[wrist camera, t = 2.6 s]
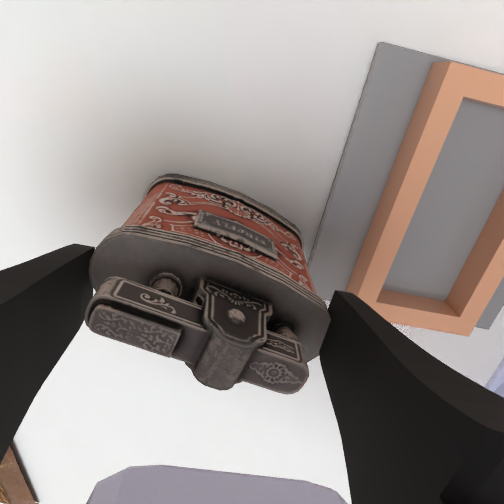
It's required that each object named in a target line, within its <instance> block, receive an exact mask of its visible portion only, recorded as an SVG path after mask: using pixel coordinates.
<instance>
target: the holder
mask: <svg viewBox="0 0 504 504" xmlns="http://www.w3.org/2000/svg"><path fill="white" fill-rule="evenodd" d="M307 267H308V270H309V273H310V276H311V279H312V282H313V285H314V288H315V291H316V294H317V295H318V296H319V297H320V298H321V299H323V300H328V301H331V299H332V297H333V294H334V291H335V290H338V291H344V292H350V293H353V294H354V295H356V296H357V297H359V298H360V299H361V300H363V301H364V302H365V303H366V304H368V305H369V306H370V307H371V308H372V309H374V310H375V311H376V312H377V313H378V314H379V315H381V316H382V317H383V318H384V319H385V320H387V321H388V322H390V323H396V324H402V325H407V326H413V327H419V328H424V329H430V330H436V331H441V332H447V333H453V334H458V335H464V336H469V335H470V334H471V332H472V330H473V328H474V327H478V328H484V329H489V328H490V326H491V325H492V323H493V321H494V320H495V318H496V316H497V315H498V313H499V311H500V310H501V308H502V306H503V305H504V74H501V73H497V72H494V71H490V70H486V69H482V68H479V67H475V66H471V65H467V64H464V63H460V62H456V61H452V60H448V59H445V58H441V57H437V56H433V55H430V54H426V53H422V52H418V51H415V50H411V49H407V48H403V47H399V46H396V45H392V44H388V43H384V42H381V43H378V46H377V49H376V52H375V55H374V59H373V62H372V65H371V68H370V71H369V74H368V77H367V80H366V84H365V87H364V90H363V93H362V96H361V99H360V102H359V105H358V109H357V112H356V115H355V118H354V121H353V124H352V127H351V131H350V134H349V137H348V140H347V143H346V146H345V149H344V152H343V156H342V159H341V162H340V165H339V168H338V171H337V174H336V177H335V181H334V184H333V187H332V190H331V193H330V196H329V199H328V202H327V206H326V209H325V212H324V215H323V218H322V221H321V224H320V228H319V231H318V234H317V237H316V240H315V243H314V246H313V249H312V253H311V256H310V259H309V262H308V265H307Z"/></svg>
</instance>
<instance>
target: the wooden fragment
mask: <svg viewBox="0 0 504 504" xmlns="http://www.w3.org/2000/svg"><path fill="white" fill-rule="evenodd" d="M0 502H1V503H4V504H39V503H35V502H34V499H33V497H32V494H31V492H30V490H29V488H28V486H27V484H26V482H25V480H24V477H23V475H22V473H21V471H20V468H19V466H18V464H17V462H16V459H15V456H14V454H13V451H12V450H11V448H10V446H9V448H8V450H7V452H6V454H5V456H4V458H3V460H2V462H1V464H0Z"/></svg>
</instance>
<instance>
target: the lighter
mask: <svg viewBox="0 0 504 504" xmlns="http://www.w3.org/2000/svg"><path fill="white" fill-rule="evenodd" d="M303 246H304V243H303V240H302V237H301V234H300V232H299V230H298V229H297V227H296V226H295V225H294V224H292V223H291V222H289V221H288V220H286V219H285V218H283V217H282V216H280V215H279V214H278V213H276V212H275V211H273V210H272V209H270V208H269V207H267V206H265V205H263V204H261V203H259V202H257V201H255V200H253V199H251V198H249V197H247V196H246V195H244V194H242V193H240V192H237V191H234V190H231V189H228V188H225V187H223V186H220V185H217V184H214V183H211V182H209V181H205V180H200V179H196V178H192V177H187V176H183V175H179V174H165V175H163V176H160V177H158V178H157V179H156V180H155V181H154V182H153V183H152V184H151V185H150V186H149V188H148V190H147V191H146V193H145V195H144V200H143V201H142V203H141V204H140V205H139V206H138V207H137V209H136V210H135V211H134V212H133V214H132V215H131V216H130V217H129V218H128V220H127V221H126V222H125V223H124V225H123V226H122V227H120V228H117V229H115V230H113V231H112V232H111V233H110V234H109V235H108V236H106V237H105V238H104V240H103V241H102V242H101V243H100V244H99V245H98V246H97V248H96V249H95V251H94V253H93V255H92V257H91V259H90V266H89V276H90V279H91V283H92V286H93V288H94V289H95V291H96V293H95V295H94V296H93V298H92V299H91V301H90V302H89V304H88V306H87V309H86V312H85V319H84V320H85V323H86V325H87V326H88V327H89V328H90V330H91V331H92V332H94V333H97V334H99V335H102V336H105V337H108V338H111V339H114V340H117V341H120V342H123V343H126V344H129V345H132V346H135V347H138V348H141V349H144V350H147V351H150V352H153V353H156V354H160V355H163V356H166V357H169V358H170V357H172V358H175V359H178V360H181V361H184V362H185V364H186V365H187V366H188V367H189V368H190V369H191V370H192V373H193V375H194V376H195V378H196V379H197V380H198V381H199V382H201V383H202V384H203V385H205V386H208V387H211V388H214V389H217V390H228V389H230V388H232V387H233V386H234V384H236V383H240V382H242V381H245V382H248V383H251V384H254V385H257V386H260V387H263V388H266V389H269V390H272V391H275V392H278V393H283V394H293V393H295V392H298V391H299V390H300V389H301V388H302V387H303V385H304V384H305V382H306V381H307V379H308V377H309V370H308V365H307V362H309V361H311V360H312V359H314V358H315V357H317V356H319V350H320V348H321V345H322V342H323V340H324V337H325V334H326V332H327V329H328V326H329V324H330V321H331V318H330V315H329V312H328V310H327V307H326V304H325V302H324V301H323V300H322V299H321V298H320V297H319V296H318V295H317V294H316V291H315V288H314V285H313V282H312V279H311V276H310V273H309V270H308V267H307V264H306V261H305V258H304V255H303Z"/></svg>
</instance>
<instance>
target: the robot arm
mask: <svg viewBox="0 0 504 504" xmlns="http://www.w3.org/2000/svg"><path fill="white" fill-rule="evenodd" d="M94 251H95V247H91V246H85V245H80V244H72V245H68V246H65V247H63V248H60V249H57V250H55V251H52V252H50V253H47V254H45V255H42V256H39V257H37V258H34V259H32V260H29V261H27V262H24V263H21V264H19V265H16V266H13V267H10V268H7V269H4V270H1V271H0V464H1V462H2V460H3V458H4V456H5V454H6V452H7V450H8V448H9V446H10V444H11V442H12V440H13V438H14V436H15V434H16V432H17V430H18V428H19V426H20V424H21V422H22V420H23V418H24V416H25V415H26V413H27V411H28V409H29V407H30V405H31V403H32V401H33V399H34V397H35V396H36V394H37V393H38V391H39V389H40V388H41V386H42V384H43V383H44V381H45V380H46V378H47V377H48V375H49V374H50V372H51V371H52V369H53V368H54V366H55V365H56V363H57V362H58V360H59V359H60V357H61V356H62V354H63V353H64V352H65V350H66V349H67V347H68V346H69V344H70V342H71V341H72V339H73V338H74V336H75V335H76V333H77V332H78V330H79V329H80V327H81V325H82V323H83V321H84V319H85V312H86V309H87V306H88V304H89V302H90V301H91V299H92V298H93V286H92V283H91V279H90V276H89V266H90V259H91V257H92V255H93V253H94ZM328 312H329V315H330V318H331V321H330V324H329V326H328V329H327V332H326V334H325V337H324V340H323V342H322V345H321V348H320V350H319V355H320V362H321V366H322V370H323V374H324V377H325V381H326V384H327V388H328V391H329V395H330V398H331V401H332V405H333V408H334V412H335V415H336V419H337V422H338V426H339V430H340V434H341V439H342V444H343V450H344V456H345V462H346V467H347V474H348V481H349V487H350V494H351V501H352V504H504V359H503V360H502V362H501V363H500V365H499V366H498V368H497V369H496V371H495V372H494V374H493V375H492V377H491V378H490V380H489V382H488V383H487V385H486V386H485V388H484V387H483V386H481V385H479V384H477V383H476V382H474V381H472V380H470V379H468V378H467V377H465V376H463V375H462V374H460V373H458V372H457V371H455V370H453V369H452V368H450V367H449V366H447V365H445V364H444V363H442V362H441V361H439V360H438V359H436V358H435V357H433V356H432V355H430V354H429V353H428V352H426V351H425V350H423V349H422V348H421V347H419V346H418V345H417V344H415V343H414V342H413V341H411V340H410V339H409V338H407V337H406V336H405V335H404V334H402V333H401V332H400V331H399V330H397V329H396V328H395V327H394V326H392V325H391V324H390V323H389V322H388V321H387V320H385V319H384V318H383V317H382V316H381V315H379V314H378V313H377V312H376V311H375V310H374V309H372V308H371V307H370V306H369V305H368V304H366V303H365V302H364V301H363V300H361V299H360V298H359V297H357V296H356V295H354V294H353V293H350V292H344V291H338V290H335V291H334V294H333V297H332V299H331V302H330V305H329V308H328ZM86 504H347V503H346V501H345V500H344V499H343V498H342V497H341V496H340V495H339V494H338V493H337V492H336V491H334V490H332V489H330V488H327V487H324V486H321V485H318V484H314V483H311V482H308V481H303V480H294V479H285V478H276V477H267V476H258V475H249V474H240V473H231V472H222V471H213V470H204V469H195V468H186V467H177V466H168V465H150V466H133V467H128V468H126V469H124V470H122V471H120V472H118V473H116V474H114V475H112V476H109V477H107V478H105V479H103V480H101V481H99V482H97V484H96V486H95V488H94V490H93V492H92V494H91V495H90V497H89V499H88V501H87V503H86Z"/></svg>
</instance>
